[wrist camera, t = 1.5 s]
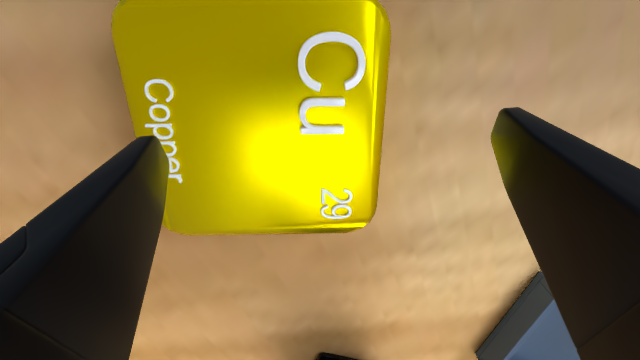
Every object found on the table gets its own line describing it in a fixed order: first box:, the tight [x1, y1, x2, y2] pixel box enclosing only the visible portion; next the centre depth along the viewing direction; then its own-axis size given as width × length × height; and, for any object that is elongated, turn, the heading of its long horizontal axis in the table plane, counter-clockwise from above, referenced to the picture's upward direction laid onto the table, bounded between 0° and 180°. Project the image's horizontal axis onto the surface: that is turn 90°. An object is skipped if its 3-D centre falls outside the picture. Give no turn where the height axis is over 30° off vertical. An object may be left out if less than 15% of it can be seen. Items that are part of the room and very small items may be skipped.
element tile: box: [111, 0, 391, 235], centre depth 23 cm, size 15×15×5 cm
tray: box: [476, 272, 580, 360], centre depth 35 cm, size 11×16×3 cm
